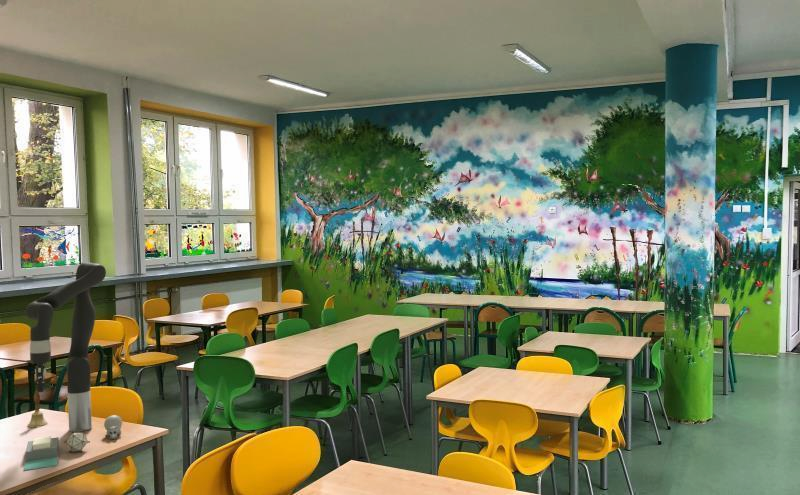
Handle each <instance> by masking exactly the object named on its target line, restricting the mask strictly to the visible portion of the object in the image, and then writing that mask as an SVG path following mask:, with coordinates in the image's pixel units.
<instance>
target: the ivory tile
mask: <svg viewBox="0 0 800 495" xmlns="http://www.w3.org/2000/svg"><path fill="white" fill-rule="evenodd" d="M51 438H52V436H51V435H49V436H48V435H46V436H42V437H41V436H40V437H35V438H33V441H34V442H33V450H36V449H43V448H50V446H51Z"/></svg>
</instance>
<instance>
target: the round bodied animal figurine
mask: <svg viewBox="0 0 800 495" xmlns="http://www.w3.org/2000/svg"><path fill="white" fill-rule="evenodd" d="M122 425H123V420H122V418H121V416H119V415H115V414H113V415H109V416H108V417H107V418H105V419H104V422H103V427H104V428H105V430H106V435H107V436H108V437H110V439H111V440H116V439H117V438H118V435H121V433H122Z"/></svg>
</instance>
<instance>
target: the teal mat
mask: <svg viewBox="0 0 800 495" xmlns="http://www.w3.org/2000/svg"><path fill="white" fill-rule="evenodd" d="M24 462H25V463H24V467H23V471H24V472H26V471H34V470H37V469H38V470H39V469H46V468H51V467H56V466H57V465H58V457H53V458H47V459H40V460H34V461H27V462H26V461H24Z"/></svg>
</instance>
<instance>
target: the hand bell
mask: <svg viewBox="0 0 800 495" xmlns="http://www.w3.org/2000/svg"><path fill="white" fill-rule="evenodd" d="M40 401H41V394H40V392H37V390H35V391H34V394H33V402H34V406H35V407H34V410H35V411H33V412H32V414H31V418H30V421H29V423H27V427H28V428H38V427H43V426H46V425H48V422H49V421H46V419H45V417H44V413H43V411H40Z"/></svg>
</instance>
